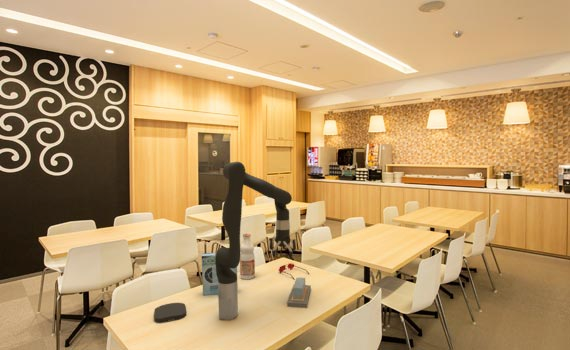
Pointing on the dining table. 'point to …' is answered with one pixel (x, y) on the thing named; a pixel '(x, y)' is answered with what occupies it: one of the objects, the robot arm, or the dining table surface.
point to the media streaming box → (170, 312)
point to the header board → (299, 302)
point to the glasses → (290, 266)
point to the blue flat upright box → (211, 274)
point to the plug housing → (299, 288)
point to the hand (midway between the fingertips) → (282, 257)
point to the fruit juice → (247, 258)
